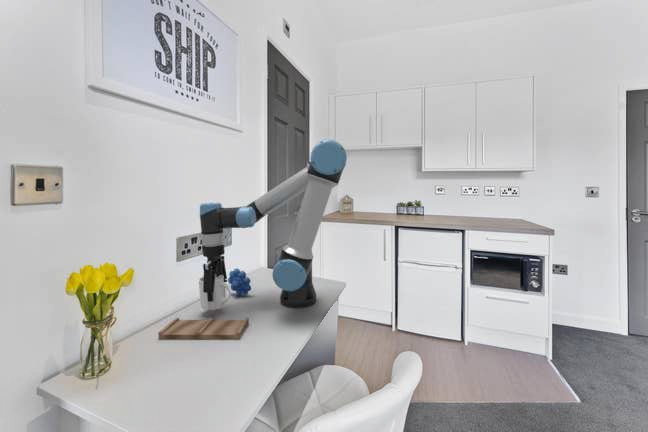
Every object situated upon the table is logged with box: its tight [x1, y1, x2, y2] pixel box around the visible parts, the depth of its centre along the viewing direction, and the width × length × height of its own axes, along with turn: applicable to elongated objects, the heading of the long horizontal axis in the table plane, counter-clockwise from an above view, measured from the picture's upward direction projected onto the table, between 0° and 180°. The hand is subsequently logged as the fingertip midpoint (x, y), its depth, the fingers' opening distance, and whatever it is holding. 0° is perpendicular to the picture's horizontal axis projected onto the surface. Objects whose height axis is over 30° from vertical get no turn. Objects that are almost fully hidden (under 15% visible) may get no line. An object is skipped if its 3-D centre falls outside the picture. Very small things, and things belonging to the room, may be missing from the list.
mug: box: [198, 275, 231, 311], centre depth 103 cm, size 9×12×11 cm
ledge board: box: [158, 317, 250, 340], centre depth 90 cm, size 25×10×2 cm, turn 89°
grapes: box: [227, 268, 252, 297], centre depth 120 cm, size 12×7×12 cm, turn 70°
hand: (217, 304), depth 104 cm, fingers closed on mug, 9 cm apart
